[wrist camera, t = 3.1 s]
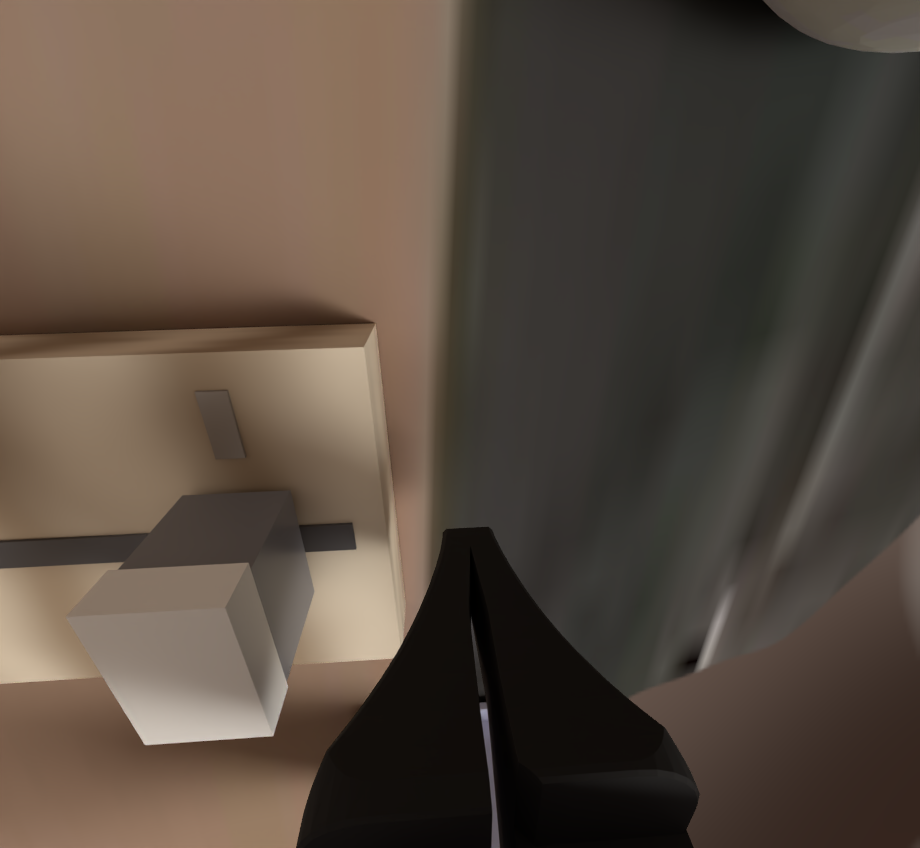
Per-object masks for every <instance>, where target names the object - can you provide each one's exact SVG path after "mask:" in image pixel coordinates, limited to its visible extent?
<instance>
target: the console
mask: <svg viewBox="0 0 920 848" xmlns="http://www.w3.org/2000/svg"><path fill="white" fill-rule="evenodd" d="M286 490H291V494H292V499H293V503H294V507H295V511H296V515H297V520H298V524H299V528H300V532H301V537H302V541H303V545H304V549H305V553H306V558H307V562H308V566H309V570H310V575H311V579H312V583H313V587H314V591H315V592H314V595H313V598H312V601H311V605H310V608H309V611H308V614H307V618H306V621H305V624H304V627H303V631H302V634H301V637H300V640H299V644H298V647H297V650H296V653H295V657H294V660H293V663H292V665H299V664H315V663H330V662H346V661H361V660H377V659H392V658H394V657H395V655H396V653H397V651H398V650H399V648H400V646H401V645H402V643H403V635H404V621H405V606H406V602H405V592H404V583H403V574H402V564H401V555H400V545H399V536H398V527H397V517H396V508H395V499H394V489H393V480H392V471H391V461H390V452H389V442H388V433H387V424H386V414H385V405H384V396H383V386H382V377H381V368H380V358H379V349H378V339H377V330H376V323H368V324H337V325H306V326H275V327H244V328H213V329H182V330H151V331H120V332H89V333H58V334H27V335H0V684H5V683H21V682H36V681H52V680H67V679H83V678H98V677H102V675H101V673H100V672H99V670H98V669H97V667H96V665H95V664H94V662H93V660H92V659H91V657H90V656H89V654H88V652H87V651H86V649H85V648H84V646H83V644H82V643H81V641H80V640H79V638H78V636H77V635H76V633H75V631H74V630H73V628H72V627H71V625H70V623H69V622H68V620H67V619H66V616H67V615H68V614H69V613H70V612H71V611H72V609H73V608H74V607H75V606H76V605H77V604H78V603H79V602H80V601H81V599H82V598H83V597H84V596H85V595H86V594H87V593H88V592H89V591H90V589H91V588H92V587H93V586H94V585H95V584H96V583H97V582H98V580H99V579H100V578H101V577H102V576H103V575H104V574H105V573H106V572H107V570H118V569H119V568H120V566H121V565H122V564H123V563H124V562H125V561H126V559H127V558H128V557H129V556H130V555H131V554H132V553H133V551H134V550H135V549H136V548H137V547H138V546H139V545H140V543H141V542H142V541H143V540H144V539H145V538H146V537H147V535H148V534H149V533H150V532H151V531H152V530H153V528H154V527H155V526H156V525H157V524H158V523H159V522H160V520H161V519H162V518H163V517H164V516H165V515H166V514H167V512H168V511H169V510H170V509H171V508H172V507H173V506H174V504H175V503H176V502H177V501H178V500H179V499H180V497H181V496H182V495H203V494H224V493H245V492H265V491H286Z"/></svg>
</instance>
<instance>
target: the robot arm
mask: <svg viewBox="0 0 920 848" xmlns="http://www.w3.org/2000/svg"><path fill="white" fill-rule="evenodd" d="M471 617H472V623H473V629H474V634H475V640H476V645H477V651H478V657H479V662H480V668H481V673H482V679H483V684H484V690H485V696H486V702H481V703H479V695H478V687H477V678H476V670H475V661H474V652H473V643H472V634H471ZM698 799H699V791H698V788H697V786H696V783H695V781H694V779H693V776H692V774H691V772H690V770H689V768H688V766H687V764H686V762H685V760H684V758H683V757H682V755H681V753H680V752H679V750H678V748H677V746H676V745H675V743H674V742H673V740H672V738H671V737H670V735H669V733H668V732H667V730H666V729H665V727H663V726H662V725H661V724H659V723H658V722H657V721H656V720H654V719H653V718H652V717H650V716H649V715H648V714H647V713H645V712H644V711H643V710H641V709H640V708H639V707H638V706H636V705H635V704H634V703H633V702H632V701H630V700H629V699H628V698H627V697H626V696H624V695H623V694H622V693H621V692H620V691H619V690H618V689H616V688H615V687H614V686H613V685H612V684H611V683H610V682H608V681H607V680H606V679H605V678H604V677H603V676H602V675H601V674H600V673H599V672H598V671H597V670H596V669H595V668H594V667H593V666H592V665H591V664H590V663H589V662H588V661H587V660H585V659H584V658H583V657H582V656H581V655H580V654H579V653H578V652H577V651H576V650H575V649H574V648H573V647H572V645H571V644H570V643H569V642H568V641H567V640H566V639H565V638H564V637H563V636H562V635H561V633H560V632H559V631H558V630H557V629H556V628H555V626H554V625H553V624H552V623H551V622H550V621H549V619H548V618H547V617H546V616H545V614H544V613H543V612H542V611H541V609H540V608H539V607H538V605H537V604H536V603H535V601H534V600H533V599H532V597H531V596H530V595H529V593H528V592H527V590H526V589H525V588H524V586H523V585H522V583H521V582H520V580H519V578H518V577H517V575H516V574H515V572H514V571H513V569H512V568H511V566H510V564H509V563H508V561H507V559H506V557H505V556H504V554H503V552H502V550H501V548H500V546H499V544H498V542H497V540H496V538H495V536H494V534H493V531H492V529H490V528H489V527H476V528H457V529H446V530H445V531H444V532H443V538H442V545H441V550H440V554H439V558H438V561H437V565H436V568H435V571H434V573H433V576H432V579H431V582H430V585H429V588H428V590H427V592H426V595H425V597H424V599H423V602H422V604H421V607H420V609H419V611H418V613H417V615H416V618H415V620H414V622H413V624H412V626H411V628H410V630H409V632H408V633H407V635H406V637H405V639H404V641H403V643H402V645H401V646H400V648H399V650H398V651H397V653H396V655H395V657H394V658H393V660H392V662H391V663H390V665H389V667H388V668H387V670H386V671H385V673H384V674H383V676H382V678H381V679H380V680H379V682H378V683H377V685H376V686H375V688H374V689H373V691H372V692H371V693H370V695H369V696H368V698H367V699H366V701H365V702H364V704H363V705H362V706H361V708H360V709H359V711H358V712H357V713H356V715H355V716H354V717H353V718H352V720H351V721H350V722H349V723H348V725H347V726H346V727H345V728H344V730H343V731H342V732H341V733H340V735H339V736H338V737H337V739H336V740H335V741H334V742H333V744H332V745H331V746H330V747H329V749H328V750H327V752H326V754H325V756H324V758H323V761H322V763H321V765H320V768H319V770H318V772H317V775H316V777H315V780H314V783H313V785H312V788H311V791H310V794H309V797H308V800H307V803H306V807H305V810H304V814H303V818H302V823H301V827H300V832H299V837H298V841H297V846H296V848H693V845H692V843H691V840H690V838H689V835H688V833H687V831H686V829H687V827H688V825H689V823H690V820H691V818H692V816H693V814H694V812H695V809H696V806H697V804H698Z"/></svg>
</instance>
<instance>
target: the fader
mask: <svg viewBox="0 0 920 848" xmlns="http://www.w3.org/2000/svg"><path fill="white" fill-rule="evenodd" d="M314 592H315V591H314V587H313V583H312V579H311V575H310V570H309V566H308V562H307V558H306V553H305V549H304V545H303V541H302V537H301V532H300V528H299V524H298V520H297V515H296V511H295V507H294V503H293V499H292V494H291V490H286V491H265V492H245V493H224V494H203V495H182V496H181V497H180V499H179V500H178V501H177V502H176V503H175V504H174V506H173V507H172V508H171V509H170V510H169V511H168V512H167V514H166V515H165V516H164V517H163V518H162V519H161V520H160V522H159V523H158V524H157V525H156V526H155V527H154V528H153V530H152V531H151V532H150V533H149V534H148V535H147V537H146V538H145V539H144V540H143V541H142V542H141V543H140V545H139V546H138V547H137V548H136V549H135V550H134V551H133V553H132V554H131V555H130V556H129V557H128V558H127V559H126V561H125V562H124V563H123V564H122V565H121V566H120V568H119V569H118V570H107V572H106V573H105V574H104V575H103V576H102V577H101V578H100V579H99V580H98V582H97V583H96V584H95V585H94V586H93V587H92V588H91V589H90V591H89V592H88V593H87V594H86V595H85V596H84V597H83V598H82V599H81V601H80V602H79V603H78V604H77V605H76V606H75V607H74V608H73V609H72V611H71V612H70V613H69V614H68V615H67V616H66V619H67V620H68V622H69V623H70V625H71V627H72V628H73V630H74V631H75V633H76V635H77V636H78V638H79V640H80V641H81V643H82V644H83V646H84V648H85V649H86V651H87V652H88V654H89V656H90V657H91V659H92V660H93V662H94V664H95V665H96V667H97V669H98V670H99V672H100V673H101V675H102V677H103V678H104V680H105V681H106V683H107V685H108V686H109V688H110V690H111V691H112V693H113V694H114V696H115V698H116V699H117V701H118V702H119V704H120V706H121V707H122V709H123V710H124V712H125V714H126V715H127V717H128V719H129V720H130V722H131V723H132V725H133V727H134V728H135V730H136V731H137V733H138V735H139V736H140V738H141V739H142V741H143V743H144V744H145V745H155V744H169V743H183V742H197V741H211V740H226V739H240V738H254V737H268V736H273V735H274V732H275V729H276V725H277V722H278V719H279V715H280V712H281V709H282V705H283V702H284V699H285V696H286V692H287V689H288V685H287V679H288V676H289V673H290V670H291V666H292V663H293V660H294V657H295V653H296V650H297V647H298V644H299V640H300V637H301V634H302V631H303V627H304V624H305V621H306V618H307V614H308V611H309V608H310V605H311V601H312V598H313V595H314Z"/></svg>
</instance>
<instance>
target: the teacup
mask: <svg viewBox="0 0 920 848" xmlns="http://www.w3.org/2000/svg"><path fill="white" fill-rule="evenodd" d="M763 1H764V2H765V3H766V4H767V5H768V6H769V7H770V8H771V9H772V10H773V11H774V12H775V13H776V14H777V15H778V16H779V17H780V18H782V19H783V20H784V21H786V22H787V23H789V24H790V25H791V26H793V27H794V28H796V29H797V30H798V31H800V32H802V33H804V34H806V35H808V36H810V37H812V38H815V39H817V40H819V41H822V42H824V43H827V44H830V45H834V46H839V47H843V48H848V49H853V50H858V51H865V52H884V53H902V52H916V51H920V0H763Z"/></svg>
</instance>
